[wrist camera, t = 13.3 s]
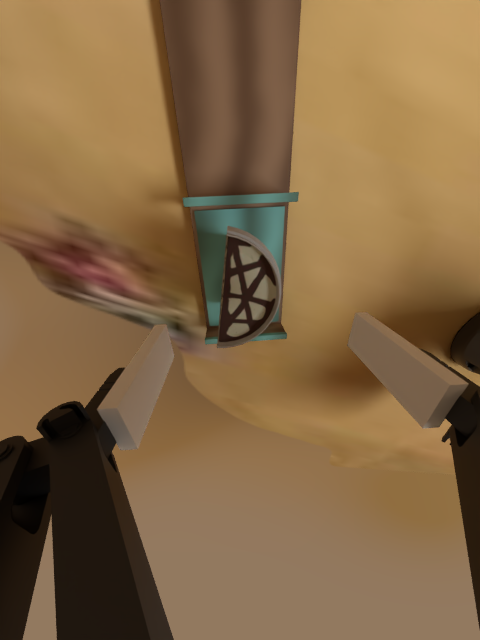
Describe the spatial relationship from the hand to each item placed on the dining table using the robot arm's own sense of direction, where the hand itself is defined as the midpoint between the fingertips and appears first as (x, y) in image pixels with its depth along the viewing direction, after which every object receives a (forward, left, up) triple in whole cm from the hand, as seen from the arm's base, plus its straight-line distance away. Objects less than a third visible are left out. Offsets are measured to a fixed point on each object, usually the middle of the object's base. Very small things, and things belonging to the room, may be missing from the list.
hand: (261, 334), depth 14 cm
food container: (0, 0, -16) cm, 16 cm away
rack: (0, -9, -17) cm, 19 cm away
